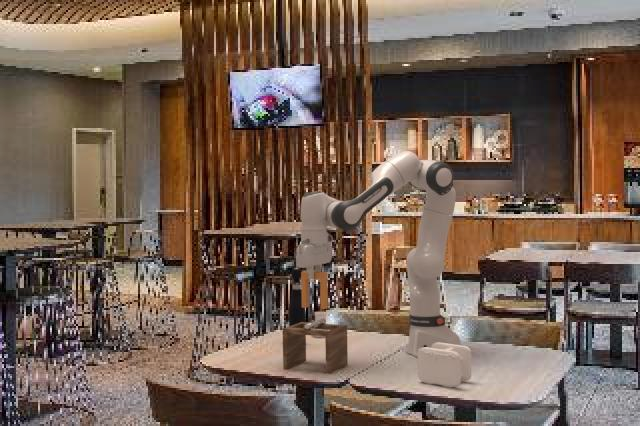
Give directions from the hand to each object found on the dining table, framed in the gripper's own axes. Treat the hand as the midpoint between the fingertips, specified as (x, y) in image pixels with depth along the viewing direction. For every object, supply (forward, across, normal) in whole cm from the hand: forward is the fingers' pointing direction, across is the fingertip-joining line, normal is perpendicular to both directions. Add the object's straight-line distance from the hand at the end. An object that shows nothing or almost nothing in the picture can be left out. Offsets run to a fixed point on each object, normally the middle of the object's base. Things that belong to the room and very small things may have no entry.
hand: (314, 278), depth 286 cm
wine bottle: (+31, +29, +23) cm, 49 cm away
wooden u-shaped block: (+10, 0, 0) cm, 10 cm away
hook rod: (+17, 0, 0) cm, 17 cm away
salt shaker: (+31, +49, +23) cm, 63 cm away
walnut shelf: (+31, 0, 0) cm, 31 cm away
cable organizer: (+31, -3, -48) cm, 57 cm away
